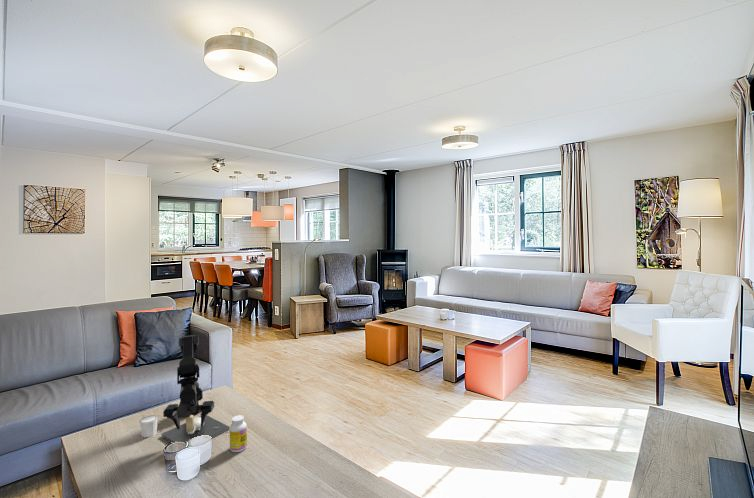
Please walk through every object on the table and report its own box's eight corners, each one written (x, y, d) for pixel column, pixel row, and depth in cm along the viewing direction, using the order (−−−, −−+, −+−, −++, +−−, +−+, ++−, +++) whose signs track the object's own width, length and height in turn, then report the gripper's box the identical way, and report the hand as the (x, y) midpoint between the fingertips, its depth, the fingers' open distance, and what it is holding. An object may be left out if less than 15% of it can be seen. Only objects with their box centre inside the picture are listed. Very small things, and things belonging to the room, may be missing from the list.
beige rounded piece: (189, 422, 165) (189, 405, 165) (206, 420, 166) (205, 404, 166) (180, 437, 153) (179, 419, 153) (198, 435, 155) (197, 417, 154)
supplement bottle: (241, 454, 147) (240, 423, 146) (226, 452, 148) (225, 421, 148) (250, 444, 153) (249, 414, 153) (236, 442, 155) (235, 413, 154)
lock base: (161, 436, 160) (161, 429, 160) (205, 417, 176) (205, 410, 176) (184, 452, 149) (184, 444, 148) (229, 429, 165) (229, 423, 165)
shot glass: (161, 430, 166) (161, 415, 165) (151, 438, 159) (150, 423, 158) (147, 429, 166) (147, 414, 166) (136, 438, 159) (135, 422, 159)
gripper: (156, 403, 145) (158, 441, 146) (206, 398, 148) (208, 436, 149) (167, 391, 156) (169, 426, 157) (214, 387, 159) (215, 422, 160)
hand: (190, 428), depth 155 cm, fingers open, 9 cm apart
